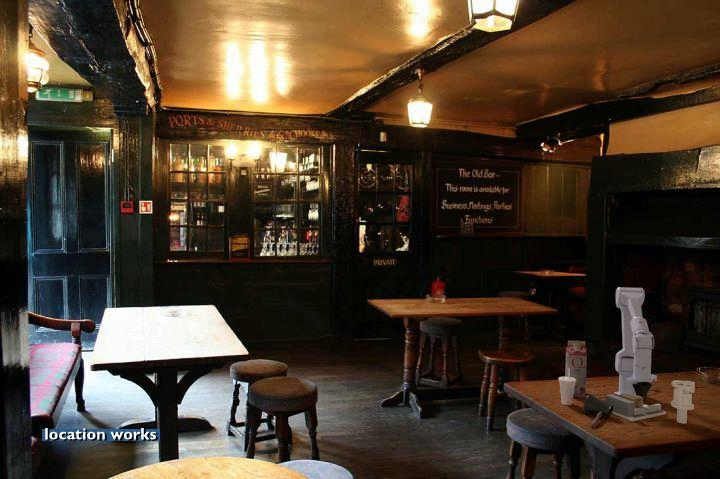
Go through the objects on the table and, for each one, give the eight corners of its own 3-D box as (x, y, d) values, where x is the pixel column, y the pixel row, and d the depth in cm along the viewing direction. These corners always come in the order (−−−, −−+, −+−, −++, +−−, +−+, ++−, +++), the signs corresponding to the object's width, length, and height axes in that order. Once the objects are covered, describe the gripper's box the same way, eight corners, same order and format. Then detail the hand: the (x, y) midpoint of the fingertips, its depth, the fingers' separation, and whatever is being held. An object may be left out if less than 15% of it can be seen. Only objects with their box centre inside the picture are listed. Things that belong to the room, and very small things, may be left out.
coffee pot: (589, 408, 205) (612, 417, 200) (569, 427, 193) (594, 437, 187) (592, 390, 204) (615, 399, 198) (572, 408, 191) (597, 418, 185)
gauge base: (634, 403, 213) (635, 388, 213) (665, 414, 201) (666, 398, 201) (601, 409, 205) (602, 393, 205) (632, 421, 193) (632, 404, 193)
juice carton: (585, 397, 219) (587, 343, 218) (568, 396, 220) (569, 342, 220) (581, 392, 226) (583, 339, 225) (564, 391, 227) (566, 338, 226)
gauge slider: (628, 405, 206) (628, 392, 206) (650, 413, 198) (651, 400, 198) (619, 407, 204) (619, 394, 204) (641, 415, 196) (641, 402, 196)
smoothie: (576, 406, 208) (577, 370, 207) (559, 405, 209) (560, 369, 209) (573, 401, 214) (574, 366, 214) (556, 400, 215) (557, 365, 215)
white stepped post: (690, 427, 189) (692, 384, 188) (667, 421, 193) (669, 380, 193) (695, 421, 194) (696, 380, 193) (673, 416, 199) (674, 376, 198)
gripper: (638, 370, 198) (637, 407, 198) (665, 366, 204) (663, 402, 204) (621, 365, 204) (620, 401, 205) (647, 361, 210) (646, 396, 211)
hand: (641, 401), depth 205 cm, fingers closed
